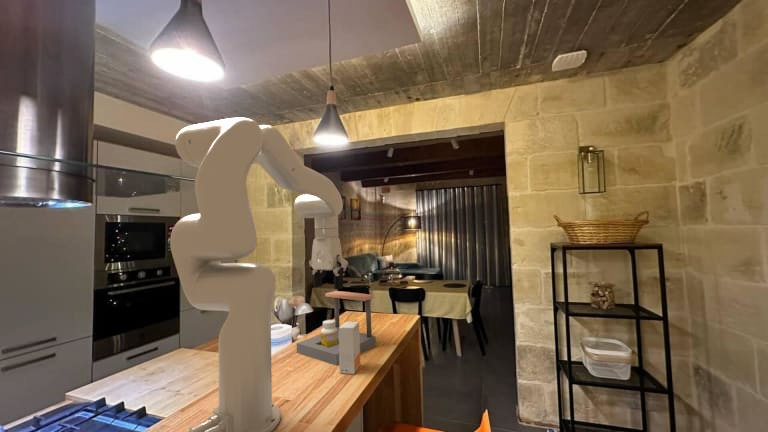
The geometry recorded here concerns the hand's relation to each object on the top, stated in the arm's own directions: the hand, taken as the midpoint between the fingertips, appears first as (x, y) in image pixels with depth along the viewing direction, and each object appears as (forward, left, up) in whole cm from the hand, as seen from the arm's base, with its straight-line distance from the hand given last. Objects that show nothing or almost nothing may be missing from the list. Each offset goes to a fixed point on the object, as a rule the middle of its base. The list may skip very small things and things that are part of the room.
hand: (328, 287), depth 96 cm
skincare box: (-5, -14, -21) cm, 25 cm away
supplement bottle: (0, 0, -20) cm, 20 cm away
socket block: (+3, 0, -20) cm, 20 cm away
